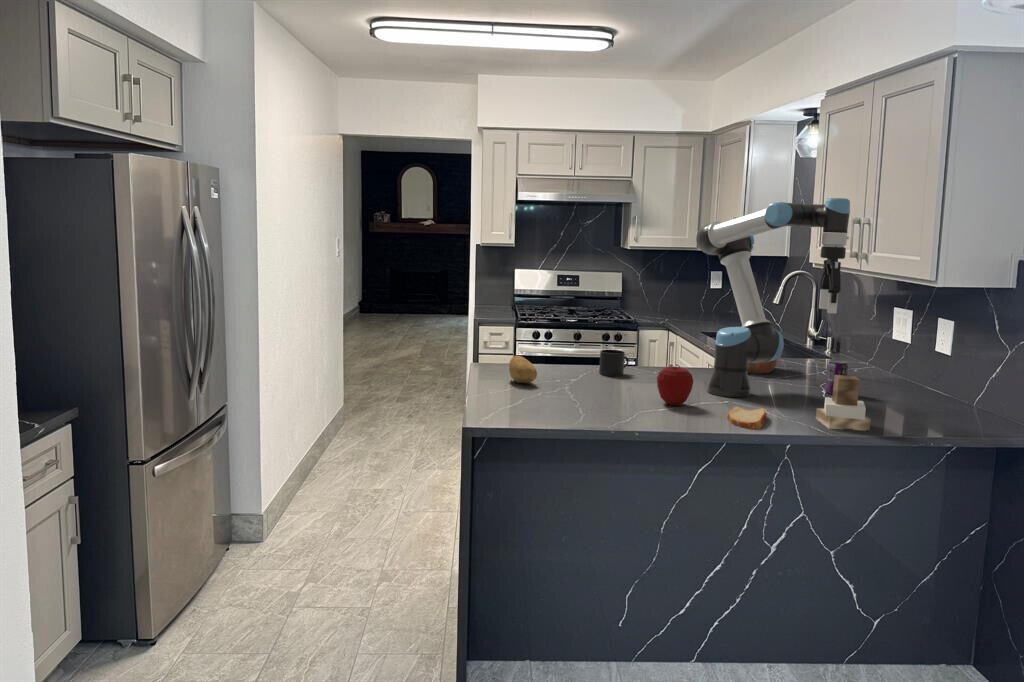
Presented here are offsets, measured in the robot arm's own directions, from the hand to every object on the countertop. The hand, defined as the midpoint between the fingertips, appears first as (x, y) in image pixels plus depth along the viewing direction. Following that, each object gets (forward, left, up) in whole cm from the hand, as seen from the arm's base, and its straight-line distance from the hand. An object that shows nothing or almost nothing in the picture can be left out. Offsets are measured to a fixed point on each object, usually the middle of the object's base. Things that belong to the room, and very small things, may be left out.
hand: (827, 311), depth 264 cm
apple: (-48, -12, -33) cm, 59 cm away
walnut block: (+3, -23, -26) cm, 34 cm away
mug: (-70, +35, -33) cm, 85 cm away
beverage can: (+11, +27, -33) cm, 44 cm away
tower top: (+3, -22, -29) cm, 37 cm away
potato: (-102, +5, -33) cm, 107 cm away
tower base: (+3, -22, -33) cm, 40 cm away
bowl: (-15, +65, -33) cm, 74 cm away
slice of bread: (-25, -26, -33) cm, 49 cm away
